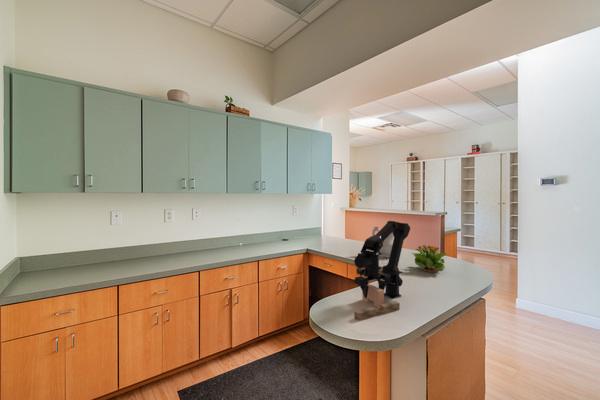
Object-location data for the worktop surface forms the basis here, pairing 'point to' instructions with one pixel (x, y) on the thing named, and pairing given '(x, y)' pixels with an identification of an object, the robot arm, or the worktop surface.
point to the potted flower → (429, 259)
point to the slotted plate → (374, 295)
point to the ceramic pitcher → (385, 244)
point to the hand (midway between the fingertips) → (372, 296)
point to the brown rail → (376, 310)
